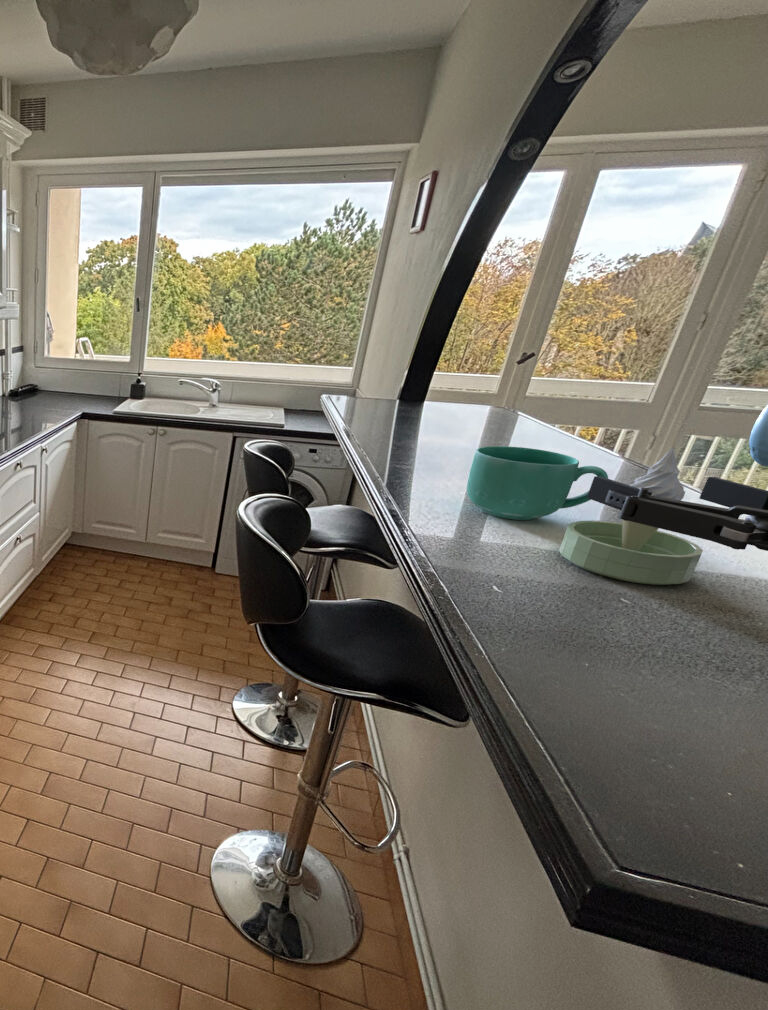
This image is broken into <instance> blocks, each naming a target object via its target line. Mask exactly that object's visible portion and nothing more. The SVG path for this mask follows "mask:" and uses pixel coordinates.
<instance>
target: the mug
mask: <svg viewBox="0 0 768 1010" xmlns="http://www.w3.org/2000/svg"><path fill="white" fill-rule="evenodd" d="M579 465H580V461H579V460H578V459H577V458H575V457H573V456H571V455H568V454H564V453H559V452H555V451H550V450H544V449H538V448H530V447H522V446H506V445H505V446H503V445H502V446H501V445H496V446H495V445H493V446H483V447H478V448H477V449H476V450H475V452H474V455H473V459H472V462H471V466H470V470H469V473H468V477H467V483H466V495H467V497H468V499H469V500H470V501H471V503H472V504H474V505H475V506H476V507H477V508H478V509H479V508H480V510H481V511H482V512H483V513H486V514H487V515H490V516H494V517H496V518H502V519H507V520H515V521H532V520H535V519H538V518H542V517H546V516H549V515H552V514H554V513H556V512H557V511H559V510H562V509H568V508H573V507H576V506H579V505H582V504H584V503H587V502H589V501H592V500H591V499H588V498H587V495H588V493H589V490H588V491H586V492H584V493H582V494H579V495H577V496H573V497H568V496H569V494H570V491H571V488H572V486H573V483H574V482H577V481H578V480H579V479H580V477H582V476H583V475H587V474H592V475H595V476H601V477H604V478H607V479H609V475H608V473H607V472H606V471H605V469H603V468H601V467H599V466H596V465H584V466H580V467H579Z"/></svg>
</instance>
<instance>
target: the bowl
mask: <svg viewBox="0 0 768 1010" xmlns="http://www.w3.org/2000/svg"><path fill="white" fill-rule="evenodd" d="M703 552H704V551H703V549H702V548H701V547H700V546H699V545H698V544H696V543H694V542H692V541H691V540H688V539H686V538H684V537H680V536H677V535H674V534H672V533H668V532H664V531H661V530H657V531H656V532H655V533H654V534H653V535H652V536H651V538H650V539H649V540H648V541H647V542H646V543H645V545H644V546H643V547H642V548H641V549H640V550H639V551H634V550H629V549H625V548H622V522H616V521H615V522H614V521H606V520H605V521H604V520H577V521H574V522H571V523H570V524H568V525H567V527H566V530H565V532H564V536H563V538H562V541H561V543H560V547H559V553H560V555H561V556H562V557H563V558H565V559H566V560H567V561H569V562H570V563H572V564H573V565H576V566H578V567H580V568H582V569H584V570H585V571H588V572H591V573H595V574H597V575H600V576H604V577H607V578H610V579H611V578H612V579H616V580H619V581H625V582H630V583H635V584H642V585H643V584H644V585H651V586H652V585H653V586H655V585H656V586H667V585H668V586H669V585H679V584H680V585H681V584H684V583H688V582H690V580H691V578H692V576H693V574H694V572H695V570H696V567H697V565H698V563H699V561H700V559H701V556H702V555H703Z"/></svg>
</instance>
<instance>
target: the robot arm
mask: <svg viewBox="0 0 768 1010" xmlns="http://www.w3.org/2000/svg"><path fill="white" fill-rule="evenodd" d="M763 408H764V409H762V411H761V412H760V414H759V416H758V417H757V419H756V421H755V423H754V424H753V427H752V429H751V432H750V435H749V441H748V446H749V448H750V450H749V454H750V457H751V458H752V460H753V461H754V462H755V463H757V465H760V466H762V467H765V468H768V404H767V405H766V406H765V407H763ZM648 490H649V488H640V489H639V488H636V487H633V486H630V484H627V483H623V482H620V481H618V480H617V481H616V480H614V479H610V478H608V479H607V478H604V477H601V476H597V475H595V476H593V479H592V482H591V485H590V488H589V489H588V491H589V493H588V495H587V498H588V499H591V500H590V501H593V502H596V503H599V504H602V505H604V506H608V507H610V508H613V509H616V510H619V511H620V514H619V515H618V518H619V519H620V520H622V519H623V520H625V521H631V522H636V523H640V524H644V525H648V526H652V527H656V528H659V529H661V530H665V531H668V532H673V533H676V534H677V533H678V534H680V535H685V536H689V537H693V538H698V539H702V540H704V541H705V540H706V541H709V542H712V543H717V544H719V545H722V546H726V547H728V548H731V549H733V550H746V548H747V546H748V545H749V546H754V547H755V548H756V549H758V550H761V551H765V552H768V490H766V489H763V488H758V487H754V486H752V485H747V484H743V483H740V482H736V481H731V480H728V479H724V478H720V477H716V476H708V477H707V478H706V481H705V483H704V486H703V488H702V490H701V493H700V495H699V497H698V499H699V500H703V501H706V502H709V503H713V504H716V505H720V506H723V507H720V506H714V505H709V504H704V503H697V502H691V501H685V500H681V501H680V500H674V499H668V498H662V497H657V496H651V495H652V492H649V491H648ZM742 515H747V516H745V519H743V518H740V517H741V516H742Z"/></svg>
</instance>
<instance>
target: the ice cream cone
mask: <svg viewBox="0 0 768 1010" xmlns="http://www.w3.org/2000/svg"><path fill="white" fill-rule="evenodd" d="M680 472H681V471H680V469H679V468H678V465H677V459H676V453H675V446H672V447H671V448H670V449H669V450H668V451H667V452H666V453H665V454H664V455H663V456H662V457H661V458H660V459H659V460H658V461H657V462H655V463H654V464H653V465H651V466H650V467H649V468H648V469H647V474H645V475H642V476H640V477H637V478H634V481H633V482H634V483H631V484H629V485H630V486H633V487H636V488H639V489H640V488H649V490H648V491H649V492H652V495H651V496H657V497H662V498H668V499H674V500H680V501H683V499H684V497H685V495H686V491H685V490H684V489H685V487H684V486H683V484H682V483H681V482H680V481H679V478H678V476H679V475H680ZM621 523H622V548H625V549H629V550H634V551H639V550H640V549H641V548H642V547H643V546H644V545H645V543H646V542H647V541H648V540H649V539H650V538H651V536H652V535H653V534H654V533H655V532H656V531H659V529H660V528H656V527H652V526H648V525H644V524H640V523H636V522H631V521H625V520H623V519H621Z"/></svg>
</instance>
